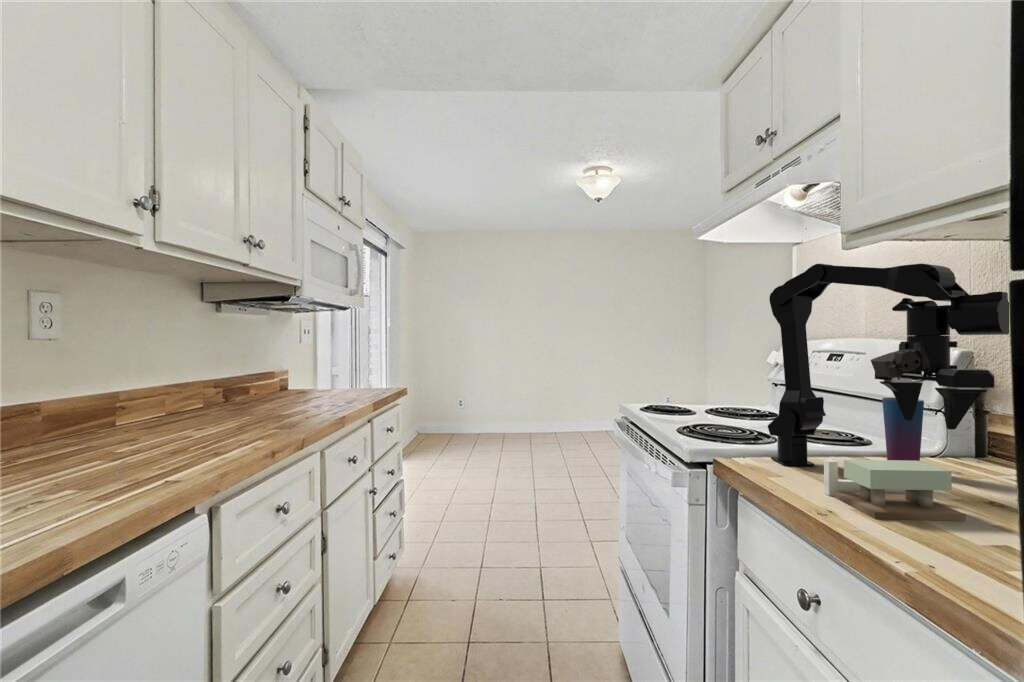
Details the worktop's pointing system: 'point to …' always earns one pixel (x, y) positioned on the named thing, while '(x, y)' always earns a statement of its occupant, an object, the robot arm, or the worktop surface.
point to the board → (897, 475)
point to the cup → (902, 431)
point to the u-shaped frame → (841, 481)
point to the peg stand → (899, 505)
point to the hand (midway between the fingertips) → (928, 424)
